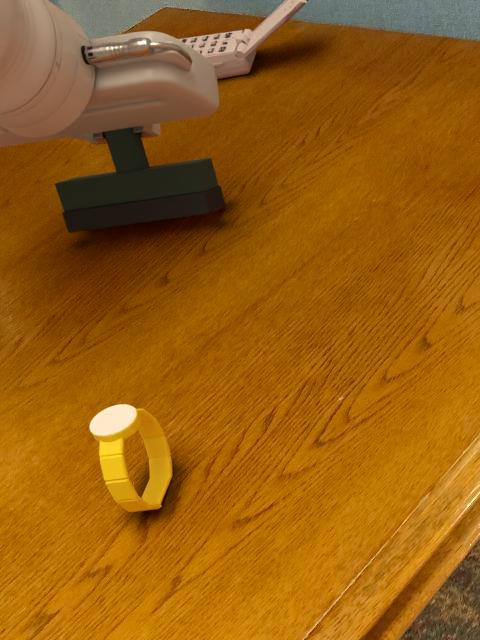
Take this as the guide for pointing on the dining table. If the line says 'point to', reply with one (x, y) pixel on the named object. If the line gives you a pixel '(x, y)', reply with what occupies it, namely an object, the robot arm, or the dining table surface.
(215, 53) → the mobile phone
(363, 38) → the dining table surface
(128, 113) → the robot arm
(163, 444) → the watch
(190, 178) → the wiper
